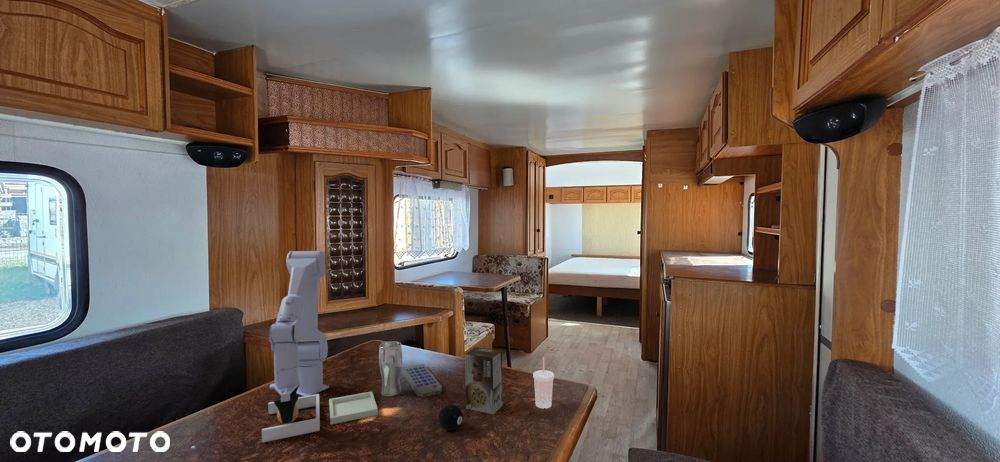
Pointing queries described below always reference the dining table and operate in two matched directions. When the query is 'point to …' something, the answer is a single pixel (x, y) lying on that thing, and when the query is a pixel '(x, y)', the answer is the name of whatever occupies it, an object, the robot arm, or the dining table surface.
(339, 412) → the tray
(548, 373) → the beverage cup
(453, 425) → the billiard ball
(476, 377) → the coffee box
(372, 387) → the dining table surface
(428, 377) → the remote control
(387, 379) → the beer glass
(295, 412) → the ball
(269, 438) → the white bent bar
